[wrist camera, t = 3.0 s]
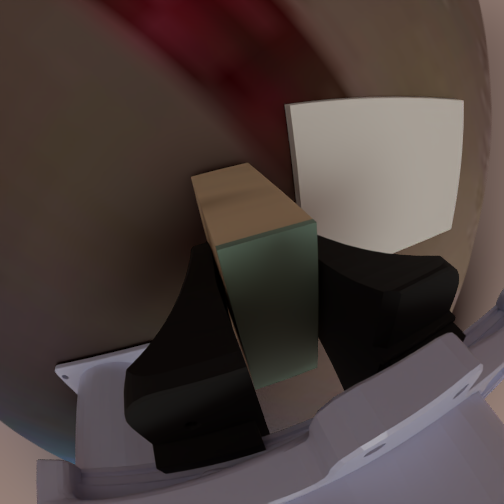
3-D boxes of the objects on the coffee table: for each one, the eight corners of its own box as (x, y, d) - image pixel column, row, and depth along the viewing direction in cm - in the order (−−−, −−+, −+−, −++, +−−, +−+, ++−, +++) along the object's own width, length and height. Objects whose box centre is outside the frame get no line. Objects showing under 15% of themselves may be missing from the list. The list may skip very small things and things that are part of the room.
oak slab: (266, 277, 15) (317, 367, 10) (220, 290, 15) (255, 389, 10) (247, 162, 12) (316, 222, 7) (190, 176, 11) (217, 250, 6)
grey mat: (445, 225, 19) (450, 228, 19) (302, 279, 17) (306, 285, 17) (456, 99, 14) (463, 100, 13) (284, 104, 12) (289, 105, 11)
